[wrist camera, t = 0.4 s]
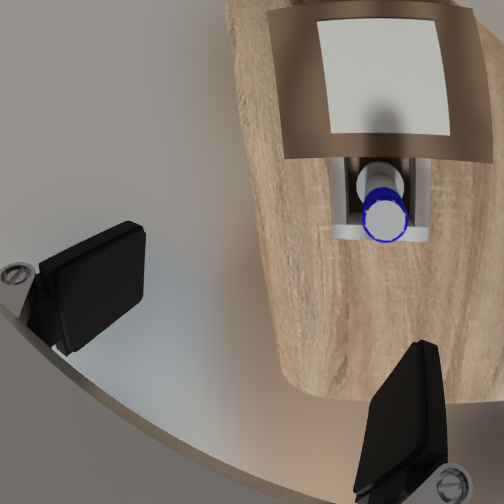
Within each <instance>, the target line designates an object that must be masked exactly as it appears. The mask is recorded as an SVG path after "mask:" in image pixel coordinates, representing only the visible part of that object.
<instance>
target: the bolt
mask: <svg viewBox="0 0 504 504" xmlns="http://www.w3.org/2000/svg"><path fill="white" fill-rule="evenodd" d="M356 187H357V193H358V196H359V198H360V200H361V201H362V202H363V212H362V224H363V228H364V230H365V232H366V233H367V234H368V235H369V237H371V238H372V239H374V240H376V241H378V242H383V243H388V242H393V241H395V240H397V239H399V238H400V237H401V236H402V235H403V234H404V233H405V231H406V229H407V226H408V221H409V217H408V212H407V210H406V207H405V205H404V203H403V201H402V196H403V193H404V183H403V179H402V177H401V175H400V173H399V172H398V171H397V169H396V168H395V167H394V166H393V165H391V164H390V163H388V162H386V161H381V160H376V161H372V162H369V163H367V164H366V165H365V166H364V167H363V168H362V169H361V171H360V173H359V175H358V179H357V184H356Z"/></svg>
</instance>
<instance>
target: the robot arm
mask: <svg viewBox="0 0 504 504" xmlns="http://www.w3.org/2000/svg"><path fill="white" fill-rule="evenodd" d="M145 245H146V233H145V232H144V229H143V227H142V226H141V225H138V224H136V223H134V222H131V221H125V222H123V223H121V224H118V225H116V226H114V227H112V228H110V229H107V230H105V231H103V232H101V233H99V234H97V235H95V236H93V237H90V238H88V239H86V240H85V241H82V242H80V243H78V244H76V245H74V246H72V247H70V248H68V249H66V250H64V251H62V252H60V253H58V254H56V255H54V256H52V257H50V258H48V259H46V260H44V261H42V262H40V263H39V270H40V273H38V274H36V272H35V269H34V267H33V266H32V265H30V264H28V263H23V262H18V263H13V264H9V265H7V266H5V267H4V268H2V269H1V270H0V504H335V503H331V502H328V501H324V500H321V499H318V498H315V497H311V496H308V495H305V494H302V493H300V492H297V491H294V490H291V489H287V488H285V487H282V486H279V485H277V484H274V483H271V482H269V481H266V480H264V479H261V478H259V477H256V476H254V475H251V474H249V473H246V472H244V471H242V470H240V469H237V468H235V467H233V466H231V465H229V464H226V463H224V462H222V461H220V460H218V459H216V458H214V457H212V456H209V455H208V454H206V453H203V452H202V451H200V450H198V449H196V448H194V447H192V446H190V445H188V444H186V443H185V442H182V441H181V440H179V439H178V438H176V437H174V436H172V435H170V434H169V433H167V432H165V431H164V430H162V429H160V428H158V427H157V426H155V425H153V424H152V423H150V422H149V421H147V420H146V419H144V418H142V417H141V416H139V415H138V414H136V413H135V412H133V411H132V410H130V409H128V408H127V407H125V406H124V405H123V404H121V403H120V402H118V401H117V400H115V399H114V398H113V397H111V396H110V395H108V394H107V393H106V392H104V391H103V390H102V389H100V388H99V387H98V386H96V385H95V384H94V383H92V382H91V381H90V380H88V379H87V378H86V377H84V376H83V375H82V374H81V373H79V372H78V371H77V370H76V369H74V368H73V367H72V366H71V365H70V364H68V363H67V362H66V361H65V360H63V359H62V358H61V357H60V356H59V355H58V354H57V353H55V352H54V351H53V350H52V346H53V345H55V344H56V347H57V349H58V350H59V351H60V352H61V353H63V354H64V355H65V356H66V357H67V356H68V355H69V354H71V353H72V352H77V351H78V350H80V349H81V348H82V347H84V346H85V345H86V344H87V343H88V342H90V341H91V340H92V339H94V338H95V337H96V336H97V335H98V334H100V333H101V332H102V331H104V330H105V329H106V328H107V327H109V326H110V325H111V324H112V323H114V322H115V321H116V320H117V319H119V318H120V317H121V316H123V315H124V314H125V313H126V312H128V311H129V310H130V309H131V308H133V307H134V306H135V305H137V304H138V303H139V302H140V301H141V299H142V297H143V286H144V263H145ZM472 491H473V484H472V480H471V477H470V475H469V474H468V472H467V471H466V470H465V469H464V468H463V467H462V466H460V465H458V464H456V463H448V445H447V424H446V409H445V397H444V389H443V380H442V372H441V365H440V358H439V351H438V347H437V345H435V344H432V343H430V342H427V341H425V340H420V341H418V343H416V342H413V343H412V344H411V345H410V347H409V348H408V350H407V351H406V353H405V354H404V356H403V357H402V359H401V360H400V361H399V363H398V364H397V366H396V367H395V368H394V370H393V371H392V373H391V374H390V375H389V377H388V378H387V379H386V381H385V382H384V383H383V385H382V386H381V387H380V389H379V390H378V391H377V392H376V394H375V395H374V396H373V398H372V400H371V403H370V406H369V413H368V419H367V425H366V431H365V436H364V442H363V447H362V452H361V457H360V462H359V467H358V472H357V475H356V480H355V484H354V489H353V492H354V493H356V494H357V496H356V500H355V503H358V504H468V502H469V500H470V498H471V496H472Z"/></svg>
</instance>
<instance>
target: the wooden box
mask: <svg viewBox="0 0 504 504" xmlns="http://www.w3.org/2000/svg"><path fill="white" fill-rule="evenodd" d="M267 16H268V22H269V29H270V37H271V44H272V51H273V59H274V67H275V75H276V83H277V92H278V100H279V109H280V118H281V128H282V138H283V148H284V158H285V159H297V158H325V157H328V163H329V179H330V197H331V222H332V239H359V240H374V239H372V238H371V237H369V235H368V234H367V233H366V232H365V230H364V228H363V224H362V213H359V212H350V199H349V175H348V157H401V158H409V164H410V209H409V214H408V217H409V221H408V226H407V229H406V231H405V233H404V234H403V235H402V236H401V237H400V238H399V239H397V240H395V241H417V242H428V234H429V218H430V188H431V165H430V159H444V160H458V161H471V162H481V163H491V164H493V136H492V118H491V106H490V97H489V88H488V81H487V74H486V68H485V62H484V56H483V51H482V46H481V42H480V37H479V33H478V29H477V25H476V21H475V17H474V14H473V10H472V8H466V7H460V6H453V5H446V4H438V3H428V2H415V1H395V0H362V1H341V2H328V3H318V4H309V5H301V6H294V7H287V8H281V9H276V10H270V11H267ZM375 18H385V19H414V20H428V21H434V23H435V28H436V32H437V37H438V41H439V46H440V52H441V57H442V63H443V70H444V76H445V84H446V92H447V101H448V111H449V124H450V136H447V135H432V134H411V133H331V127H330V117H329V107H328V98H327V89H326V81H325V73H324V66H323V58H322V52H321V45H320V39H319V33H318V27H317V22H319V21H330V20H345V19H375Z"/></svg>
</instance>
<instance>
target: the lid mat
mask: <svg viewBox="0 0 504 504" xmlns="http://www.w3.org/2000/svg"><path fill="white" fill-rule="evenodd" d="M317 27H318V33H319V39H320V45H321V52H322V58H323V66H324V73H325V81H326V89H327V98H328V107H329V117H330V127H331V133H411V134H432V135H447V136H450V124H449V111H448V101H447V92H446V84H445V76H444V70H443V63H442V57H441V52H440V46H439V41H438V37H437V32H436V28H435V23H434V21H428V20H414V19H385V18H375V19H345V20H330V21H319V22H317Z"/></svg>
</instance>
